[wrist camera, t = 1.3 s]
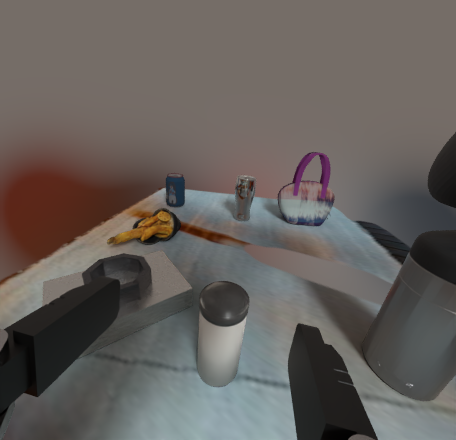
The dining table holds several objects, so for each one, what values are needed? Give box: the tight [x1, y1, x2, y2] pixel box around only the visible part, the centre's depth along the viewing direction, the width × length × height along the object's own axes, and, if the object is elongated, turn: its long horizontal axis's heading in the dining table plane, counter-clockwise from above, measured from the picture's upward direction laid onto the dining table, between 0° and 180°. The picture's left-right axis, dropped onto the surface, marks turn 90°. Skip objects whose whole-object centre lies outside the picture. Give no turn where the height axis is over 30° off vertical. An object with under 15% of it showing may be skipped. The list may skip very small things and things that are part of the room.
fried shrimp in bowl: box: [107, 208, 181, 245], centre depth 55 cm, size 9×11×18 cm
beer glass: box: [234, 175, 256, 221], centre depth 74 cm, size 7×7×15 cm
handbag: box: [278, 152, 334, 226], centre depth 75 cm, size 21×10×25 cm, turn 89°
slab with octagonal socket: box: [43, 250, 193, 360], centre depth 36 cm, size 20×14×7 cm
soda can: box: [166, 173, 185, 207], centre depth 81 cm, size 7×7×12 cm
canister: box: [197, 281, 249, 387], centre depth 26 cm, size 6×6×12 cm
